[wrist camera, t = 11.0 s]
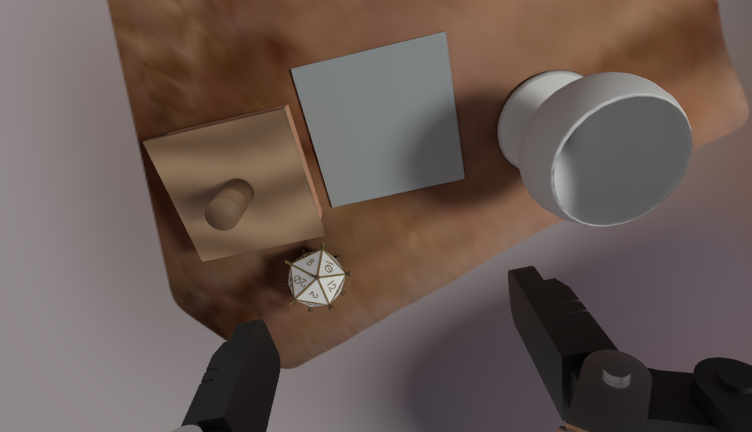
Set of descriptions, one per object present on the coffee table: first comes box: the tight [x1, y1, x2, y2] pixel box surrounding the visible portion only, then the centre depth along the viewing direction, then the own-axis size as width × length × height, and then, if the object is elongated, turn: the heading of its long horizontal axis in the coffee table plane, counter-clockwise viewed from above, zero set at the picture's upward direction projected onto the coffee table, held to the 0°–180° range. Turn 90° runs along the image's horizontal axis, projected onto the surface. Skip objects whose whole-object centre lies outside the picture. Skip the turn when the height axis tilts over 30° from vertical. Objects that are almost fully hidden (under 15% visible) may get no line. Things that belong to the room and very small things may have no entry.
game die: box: [283, 243, 352, 313], centre depth 51 cm, size 9×8×10 cm
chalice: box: [497, 70, 693, 226], centre depth 40 cm, size 14×14×15 cm
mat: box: [291, 31, 465, 207], centre depth 46 cm, size 17×17×1 cm
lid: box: [143, 107, 324, 262], centre depth 41 cm, size 15×15×7 cm
